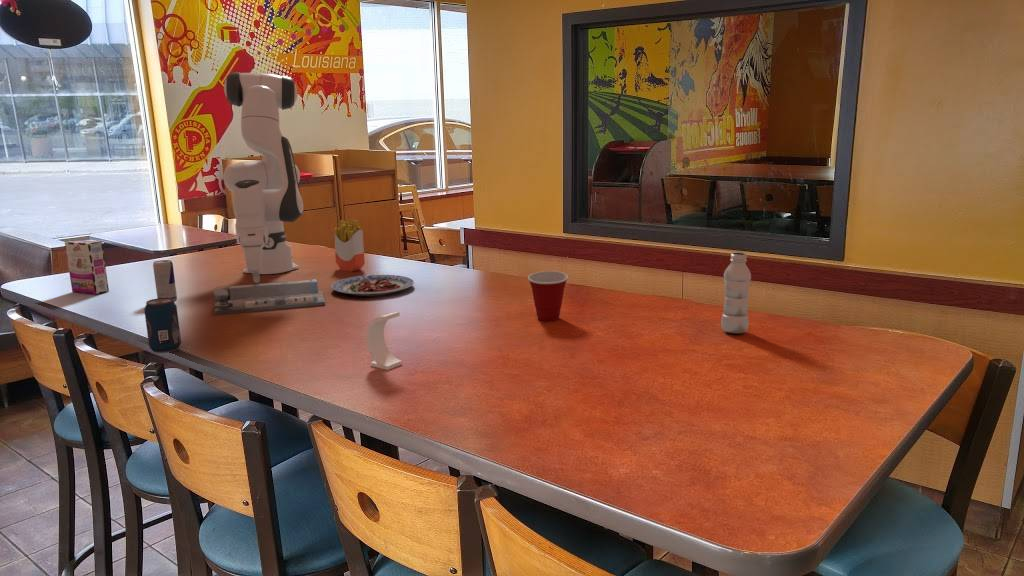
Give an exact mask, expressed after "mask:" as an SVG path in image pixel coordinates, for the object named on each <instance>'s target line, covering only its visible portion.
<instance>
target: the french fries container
mask: <svg viewBox="0 0 1024 576" xmlns="http://www.w3.org/2000/svg"><path fill="white" fill-rule="evenodd" d="M333 229H334V255H335V263H336V265H337V266H338V267H339V269H340V270H341V271H345V272H349V273H352V272H356V271H360V270H361V269H362V268H363V267H364V265H365V249H364V230H363V229H362V226H360V222H359V219H355V220H354V219H351V220H350V219H349V218H347V219H345V220H343V219H341V220H339V227H334V228H333Z"/></svg>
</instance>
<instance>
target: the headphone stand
mask: <svg viewBox="0 0 1024 576" xmlns="http://www.w3.org/2000/svg"><path fill="white" fill-rule="evenodd" d="M399 316H400V311H393V312H390V313H387V314H383V315H381V316H377V317H375V318H373V319H371V321H370V323H369V324H368V327H367V328H366V335H365V337H366V338H365V340H366V345H367V349H368V352H369V355H370V356H371V358H372V359H373V361H371V362H370V367H374V368H378V369H382V370H386V371H389V370H391V369H394V368H396V367H399V366H401V365H402V364H403V361H402V360H401V359H398V357H395V355H394V354H392V352H390V350H389V347H388V346H387V343H386V340H385V328H386V324H387V322H388V320H392V319H395V318H398V317H399Z"/></svg>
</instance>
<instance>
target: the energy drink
mask: <svg viewBox="0 0 1024 576" xmlns="http://www.w3.org/2000/svg"><path fill="white" fill-rule="evenodd" d="M172 261H173V260H171V259H161V260H156V261H153V264H152V267H153V268H152V269H153V274H154V283H155V291H156V299H158V298H172V299H173V302H175V301H176V300H177V299H178V296H177V295H178V294H177V287H176V280H175V278H176V277H175V272H174V271H175V270H174V263H173V262H172Z"/></svg>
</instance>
